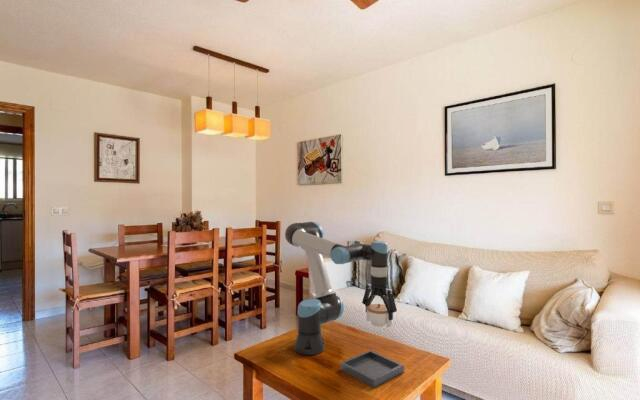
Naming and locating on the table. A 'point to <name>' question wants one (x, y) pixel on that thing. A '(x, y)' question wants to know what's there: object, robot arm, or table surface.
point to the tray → (372, 368)
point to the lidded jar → (377, 314)
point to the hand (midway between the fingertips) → (378, 323)
